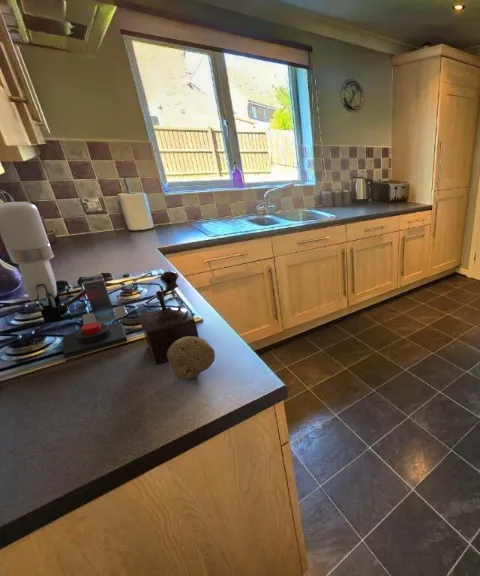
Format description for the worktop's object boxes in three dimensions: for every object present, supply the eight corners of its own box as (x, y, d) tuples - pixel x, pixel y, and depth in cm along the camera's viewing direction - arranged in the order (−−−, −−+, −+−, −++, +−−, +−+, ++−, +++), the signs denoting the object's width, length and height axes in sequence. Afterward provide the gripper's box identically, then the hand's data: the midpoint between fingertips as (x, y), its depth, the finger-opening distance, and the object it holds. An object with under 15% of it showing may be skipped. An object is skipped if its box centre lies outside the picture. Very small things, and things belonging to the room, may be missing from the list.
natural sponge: (217, 359, 81) (210, 325, 77) (218, 381, 74) (211, 344, 70) (174, 368, 78) (165, 332, 73) (172, 392, 70) (161, 354, 66)
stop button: (84, 337, 81) (81, 330, 81) (83, 330, 84) (80, 325, 83) (102, 332, 84) (100, 326, 83) (101, 326, 86) (99, 320, 85)
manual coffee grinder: (205, 349, 85) (192, 286, 78) (155, 366, 78) (135, 298, 71) (188, 325, 95) (175, 267, 88) (143, 338, 88) (124, 276, 81)
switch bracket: (85, 330, 91) (68, 288, 85) (83, 318, 96) (68, 278, 91) (129, 319, 97) (116, 279, 92) (125, 308, 102) (113, 270, 97)
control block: (66, 361, 78) (60, 347, 77) (66, 343, 85) (60, 329, 83) (128, 344, 86) (124, 330, 84) (123, 328, 92) (119, 315, 91)
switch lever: (59, 319, 88) (47, 312, 86) (59, 314, 90) (47, 307, 88) (105, 287, 92) (94, 279, 90) (104, 283, 95) (93, 275, 92)
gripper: (12, 246, 85) (35, 305, 92) (5, 266, 73) (32, 331, 80) (52, 242, 90) (71, 299, 97) (51, 260, 78) (73, 323, 85)
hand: (54, 313), depth 88 cm, fingers open, 9 cm apart
